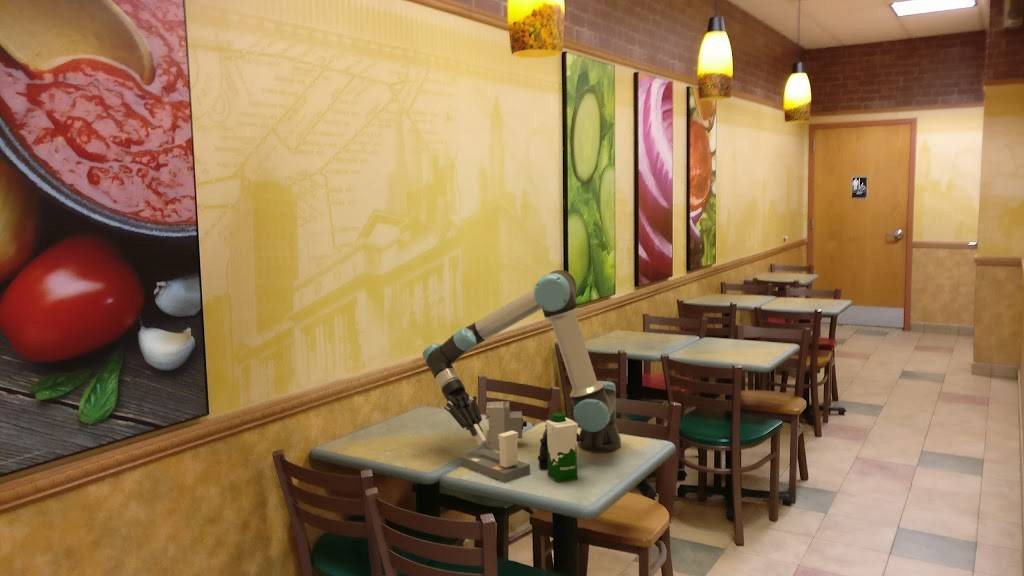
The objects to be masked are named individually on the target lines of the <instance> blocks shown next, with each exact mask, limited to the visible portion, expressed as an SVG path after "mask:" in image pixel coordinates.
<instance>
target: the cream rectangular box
mask: <svg viewBox="0 0 1024 576" xmlns="http://www.w3.org/2000/svg"><path fill="white" fill-rule="evenodd" d="M517 437H518V432H515V431H508V432H505V433H502V434H498V439H499V448H500V449H499V454H500V466H503V467H505V468H507V467H510V466H513V465H516V464H518V460H519V459H518V455H519V454H518V453H519V451H518V449H519V448H518V438H517Z"/></svg>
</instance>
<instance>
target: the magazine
mask: <svg viewBox="0 0 1024 576" xmlns="http://www.w3.org/2000/svg"><path fill="white" fill-rule="evenodd" d="M544 426H545V430H544V432H543V435H542V438H540V440H539V442H540V447H539V455H537V460H538V468H539V469H540V470H542V471H543V470H548V451H547V428H546V424H545V425H544ZM579 434H580V433H578V432H577V443H578V442H579V439H578V438H579Z"/></svg>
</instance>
